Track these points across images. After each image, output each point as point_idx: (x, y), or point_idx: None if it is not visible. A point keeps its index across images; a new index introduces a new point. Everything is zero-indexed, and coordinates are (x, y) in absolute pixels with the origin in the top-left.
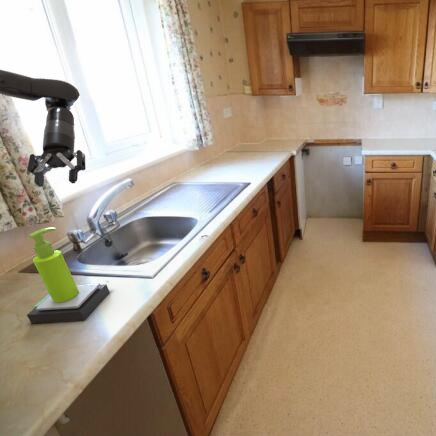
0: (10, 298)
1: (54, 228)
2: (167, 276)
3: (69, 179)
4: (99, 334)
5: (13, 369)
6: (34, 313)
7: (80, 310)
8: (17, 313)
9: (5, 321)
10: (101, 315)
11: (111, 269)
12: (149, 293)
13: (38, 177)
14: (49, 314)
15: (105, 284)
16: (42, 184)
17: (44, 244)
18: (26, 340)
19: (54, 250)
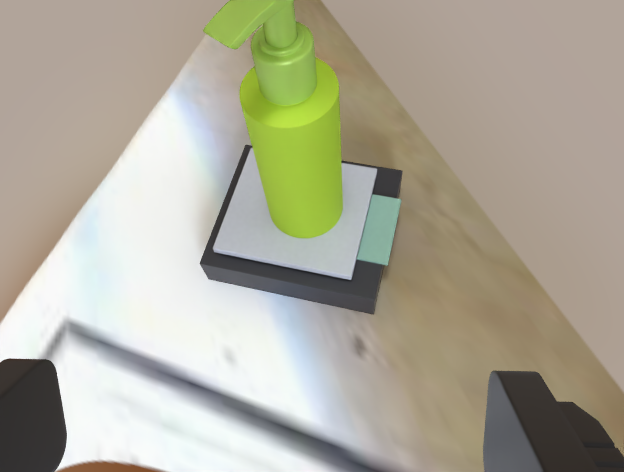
0: (579, 358)
1: (207, 25)
2: (16, 317)
3: (29, 359)
4: (198, 108)
5: (351, 59)
6: (381, 171)
7: (246, 149)
8: (480, 252)
9: (492, 222)
10: (209, 172)
11: (236, 463)
12: (82, 233)
13: (538, 441)
14: None
15: (202, 262)
16: (490, 469)
17: (263, 30)
18: (374, 131)
19: (275, 121)
